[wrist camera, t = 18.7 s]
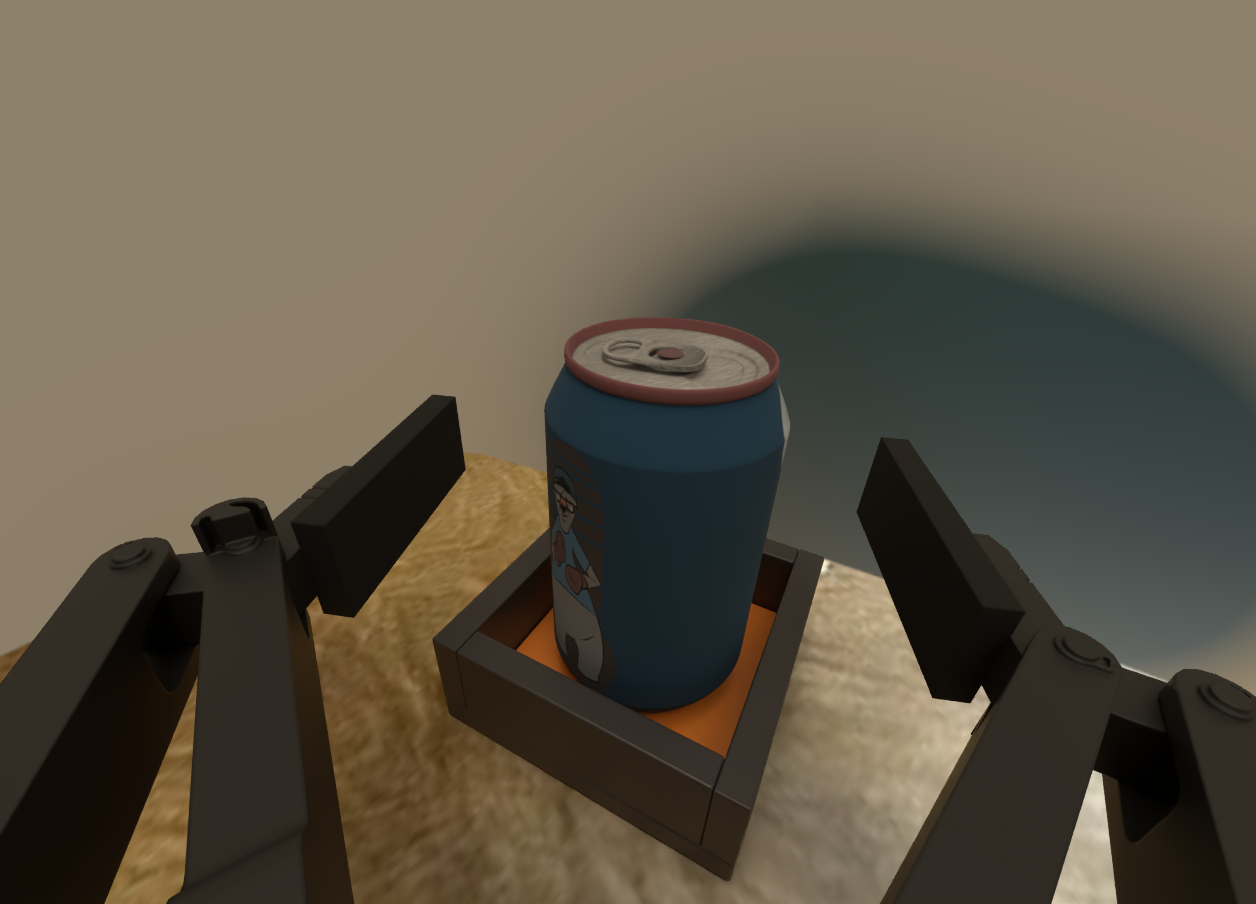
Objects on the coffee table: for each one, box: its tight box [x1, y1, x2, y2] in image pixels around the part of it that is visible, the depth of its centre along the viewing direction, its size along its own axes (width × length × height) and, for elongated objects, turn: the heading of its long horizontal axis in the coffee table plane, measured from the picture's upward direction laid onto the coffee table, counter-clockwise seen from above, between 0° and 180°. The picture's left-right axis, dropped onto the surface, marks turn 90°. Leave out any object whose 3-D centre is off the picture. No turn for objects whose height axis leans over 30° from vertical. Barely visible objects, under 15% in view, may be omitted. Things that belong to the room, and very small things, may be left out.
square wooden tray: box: [433, 528, 824, 881], centre depth 20 cm, size 10×10×4 cm
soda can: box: [544, 317, 790, 713], centre depth 17 cm, size 7×7×12 cm
